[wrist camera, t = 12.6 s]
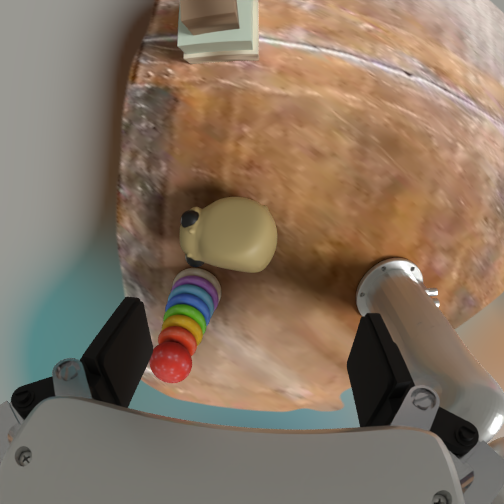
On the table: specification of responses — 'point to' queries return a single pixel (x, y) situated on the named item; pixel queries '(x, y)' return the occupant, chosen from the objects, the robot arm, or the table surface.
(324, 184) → the table surface
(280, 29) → the table surface
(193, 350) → the stacking toy
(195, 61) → the base block
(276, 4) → the table surface
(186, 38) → the top block
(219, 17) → the walnut cube
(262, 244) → the toy frog
